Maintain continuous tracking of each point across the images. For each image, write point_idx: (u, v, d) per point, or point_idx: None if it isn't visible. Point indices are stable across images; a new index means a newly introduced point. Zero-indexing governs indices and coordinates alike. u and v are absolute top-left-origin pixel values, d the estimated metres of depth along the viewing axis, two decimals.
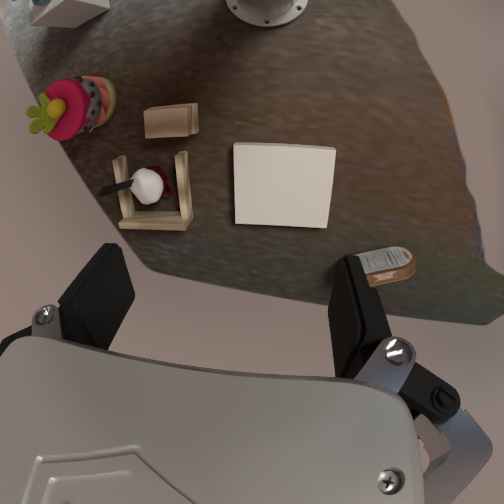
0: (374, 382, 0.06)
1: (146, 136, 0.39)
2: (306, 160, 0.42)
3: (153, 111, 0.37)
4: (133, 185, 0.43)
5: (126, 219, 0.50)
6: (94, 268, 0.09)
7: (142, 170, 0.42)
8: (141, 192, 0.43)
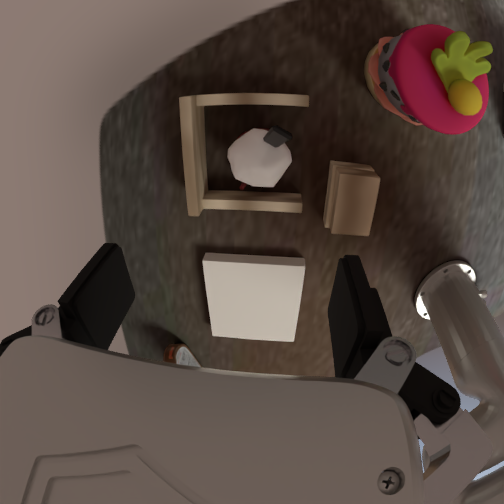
0: (374, 382, 0.06)
1: (342, 176, 0.28)
2: (284, 323, 0.44)
3: (375, 192, 0.28)
4: (267, 146, 0.26)
5: (195, 104, 0.26)
6: (94, 268, 0.09)
7: (290, 163, 0.27)
8: (255, 165, 0.26)
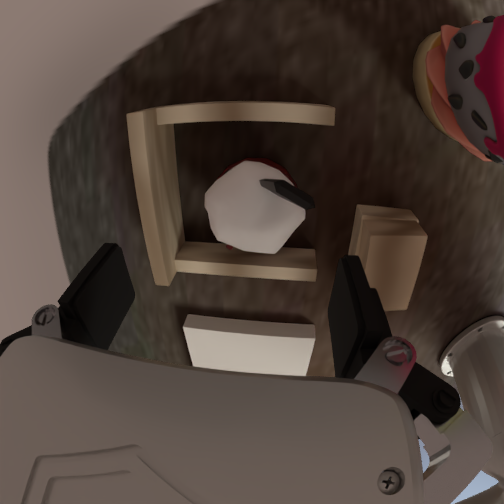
0: (374, 382, 0.06)
1: (374, 238, 0.18)
2: None
3: (419, 256, 0.18)
4: (265, 195, 0.16)
5: (154, 123, 0.17)
6: (94, 268, 0.09)
7: (302, 219, 0.18)
8: (246, 226, 0.17)
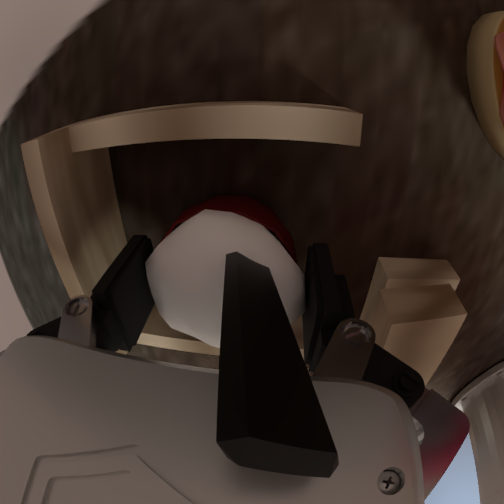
0: (338, 365, 0.06)
1: (396, 327, 0.12)
2: None
3: (452, 337, 0.12)
4: None
5: (66, 151, 0.09)
6: (127, 259, 0.10)
7: None
8: (206, 329, 0.10)
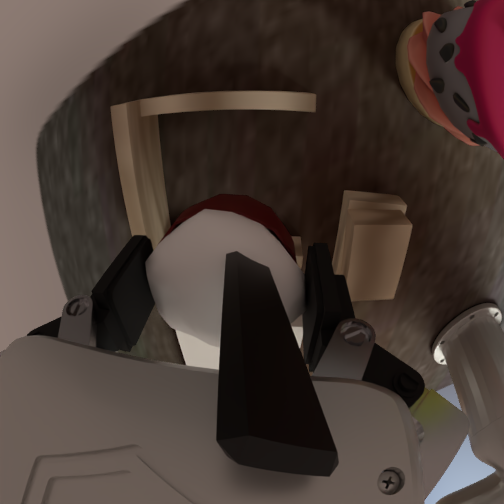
0: (338, 366, 0.06)
1: (358, 227, 0.19)
2: None
3: (405, 245, 0.19)
4: None
5: (138, 115, 0.16)
6: (127, 258, 0.10)
7: None
8: (206, 328, 0.10)
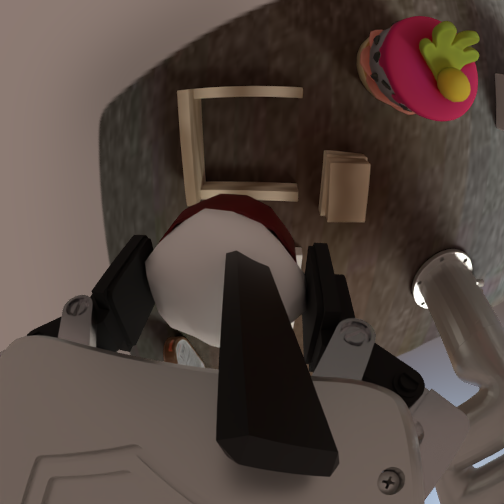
0: (338, 366, 0.06)
1: (333, 164, 0.28)
2: None
3: (367, 178, 0.29)
4: None
5: (193, 97, 0.27)
6: (127, 258, 0.10)
7: None
8: (206, 328, 0.10)
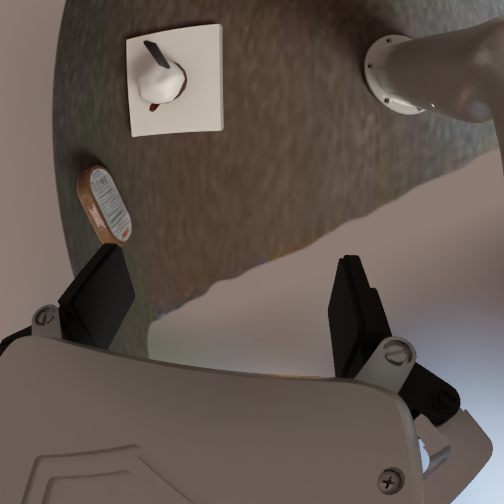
0: (374, 382, 0.06)
1: None
2: (205, 99, 0.34)
3: None
4: (161, 69, 0.27)
5: None
6: (94, 268, 0.09)
7: (181, 80, 0.28)
8: (151, 83, 0.28)
